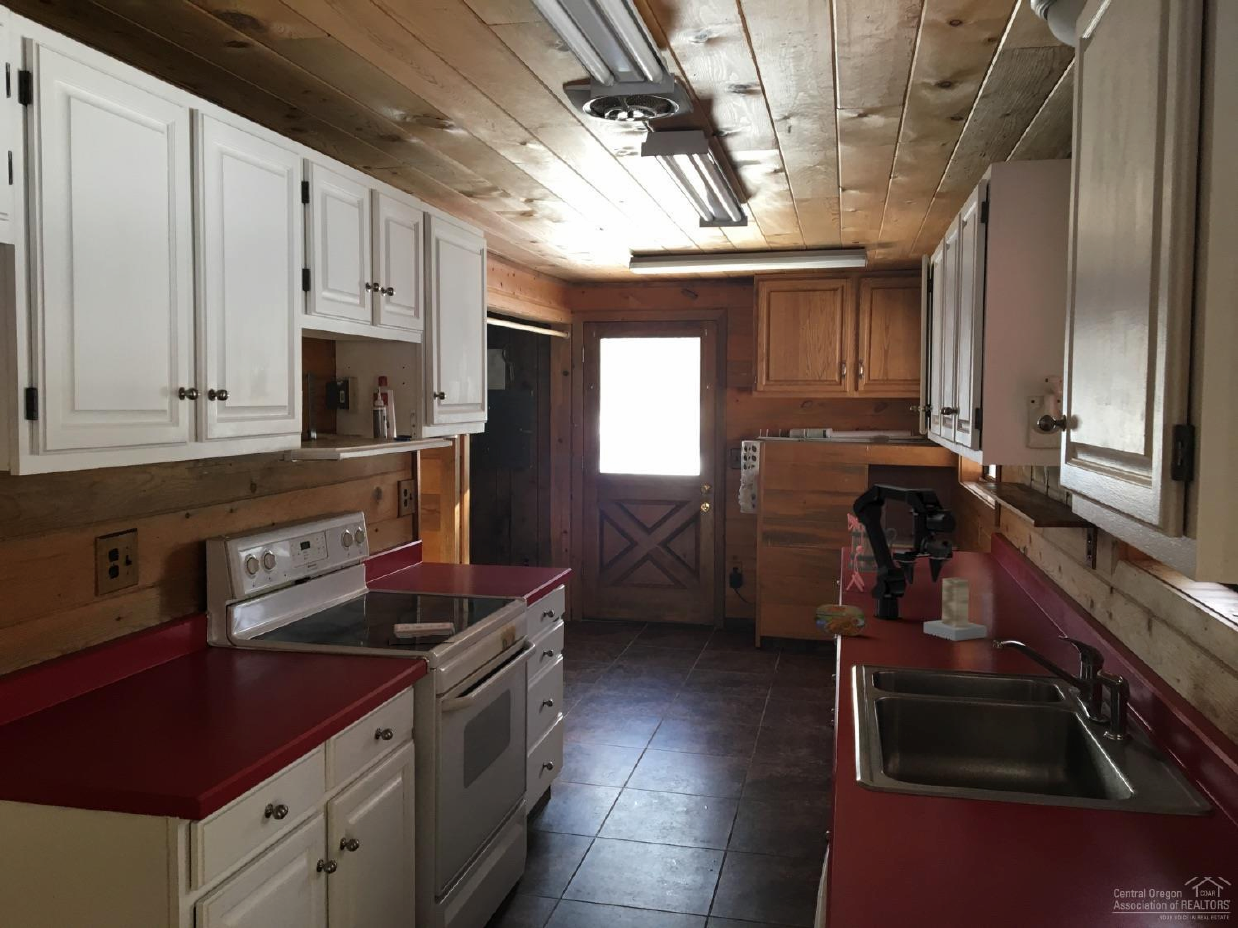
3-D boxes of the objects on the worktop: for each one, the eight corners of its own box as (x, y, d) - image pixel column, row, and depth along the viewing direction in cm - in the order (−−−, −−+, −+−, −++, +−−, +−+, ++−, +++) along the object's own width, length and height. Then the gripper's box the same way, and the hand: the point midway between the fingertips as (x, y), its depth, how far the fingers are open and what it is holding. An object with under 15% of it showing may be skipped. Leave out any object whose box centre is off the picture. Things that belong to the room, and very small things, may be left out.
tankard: (844, 572, 387) (845, 523, 386) (845, 566, 403) (846, 519, 402) (904, 574, 381) (905, 525, 380) (903, 568, 397) (904, 521, 396)
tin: (813, 632, 275) (813, 603, 274) (816, 630, 278) (816, 601, 277) (865, 637, 268) (865, 608, 267) (867, 635, 271) (868, 606, 270)
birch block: (941, 623, 273) (942, 578, 272) (954, 621, 275) (955, 577, 275) (955, 626, 268) (956, 581, 268) (968, 625, 271) (968, 579, 270)
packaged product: (454, 619, 269) (455, 626, 260) (454, 636, 270) (455, 644, 260) (389, 621, 266) (387, 629, 256) (389, 638, 266) (387, 647, 256)
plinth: (923, 632, 275) (923, 622, 274) (954, 628, 280) (954, 618, 280) (954, 640, 264) (955, 630, 264) (986, 636, 269) (986, 626, 269)
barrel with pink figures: (840, 594, 334) (844, 496, 333) (849, 583, 359) (852, 491, 357) (885, 598, 329) (889, 498, 328) (891, 586, 353) (895, 493, 352)
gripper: (918, 534, 270) (918, 589, 270) (967, 531, 278) (966, 584, 278) (891, 531, 280) (891, 584, 280) (939, 528, 288) (938, 579, 288)
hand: (922, 583), depth 282 cm, fingers open, 9 cm apart
